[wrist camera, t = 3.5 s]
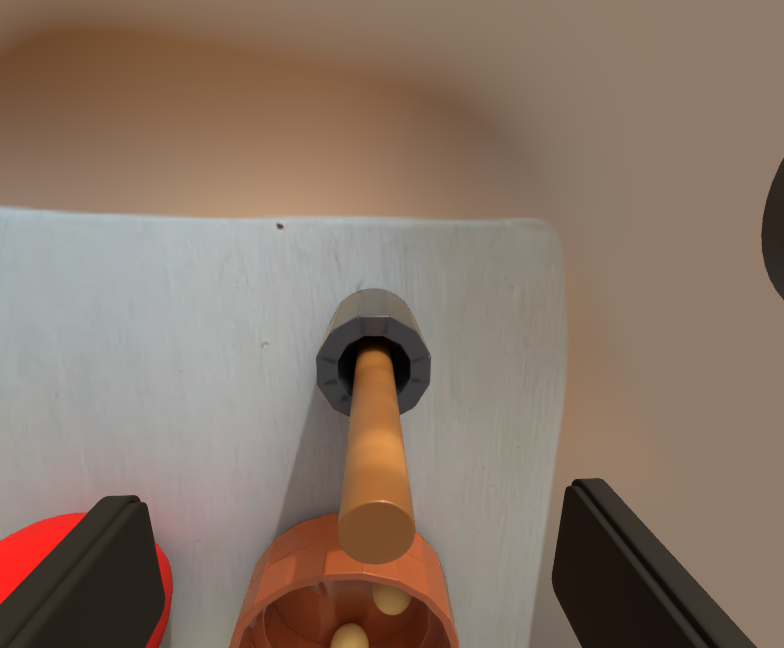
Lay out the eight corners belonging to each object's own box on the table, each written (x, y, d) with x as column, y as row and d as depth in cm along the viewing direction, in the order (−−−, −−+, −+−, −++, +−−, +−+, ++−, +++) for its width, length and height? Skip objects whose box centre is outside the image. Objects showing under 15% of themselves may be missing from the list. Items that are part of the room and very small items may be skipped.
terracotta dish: (447, 503, 28) (465, 568, 23) (439, 648, 32) (452, 731, 27) (244, 509, 28) (214, 578, 22) (262, 657, 32) (240, 745, 26)
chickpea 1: (368, 612, 30) (368, 654, 27) (369, 639, 31) (368, 683, 28) (331, 614, 30) (327, 656, 27) (332, 641, 31) (328, 685, 28)
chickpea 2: (410, 555, 29) (415, 592, 26) (410, 585, 30) (414, 624, 27) (372, 556, 29) (372, 594, 26) (372, 586, 29) (372, 626, 26)
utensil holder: (415, 288, 24) (433, 315, 17) (413, 367, 25) (428, 420, 18) (330, 288, 23) (313, 315, 17) (333, 368, 25) (319, 422, 18)
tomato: (234, 540, 28) (142, 752, 17) (134, 644, 30) (-5, 891, 19) (78, 445, 25) (-155, 623, 14) (-19, 567, 28) (-285, 803, 16)
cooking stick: (387, 317, 24) (416, 499, 8) (387, 344, 24) (415, 564, 9) (359, 317, 24) (334, 503, 8) (359, 344, 24) (337, 567, 9)
